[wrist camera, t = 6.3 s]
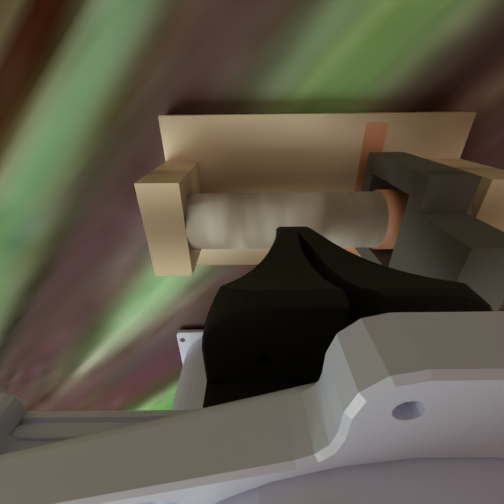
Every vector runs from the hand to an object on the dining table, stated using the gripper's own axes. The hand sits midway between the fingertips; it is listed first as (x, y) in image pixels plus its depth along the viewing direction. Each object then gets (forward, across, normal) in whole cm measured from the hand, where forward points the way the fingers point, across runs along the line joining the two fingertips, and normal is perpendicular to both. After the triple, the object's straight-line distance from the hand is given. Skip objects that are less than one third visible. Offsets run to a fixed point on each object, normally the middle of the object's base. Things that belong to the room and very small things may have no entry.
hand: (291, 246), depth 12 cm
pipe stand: (+8, -2, 0) cm, 8 cm away
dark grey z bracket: (+6, -6, 0) cm, 9 cm away
